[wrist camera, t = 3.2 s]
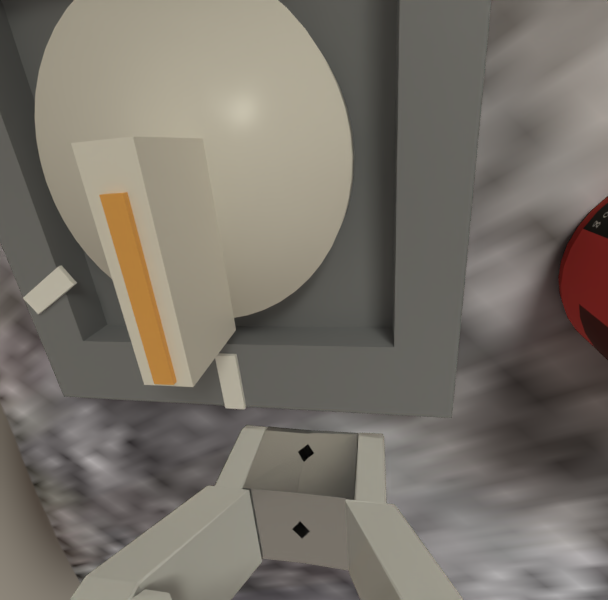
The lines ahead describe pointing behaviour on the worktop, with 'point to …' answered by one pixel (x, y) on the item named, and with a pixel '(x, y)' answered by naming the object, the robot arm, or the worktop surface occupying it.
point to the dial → (193, 163)
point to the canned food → (588, 278)
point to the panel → (341, 257)
